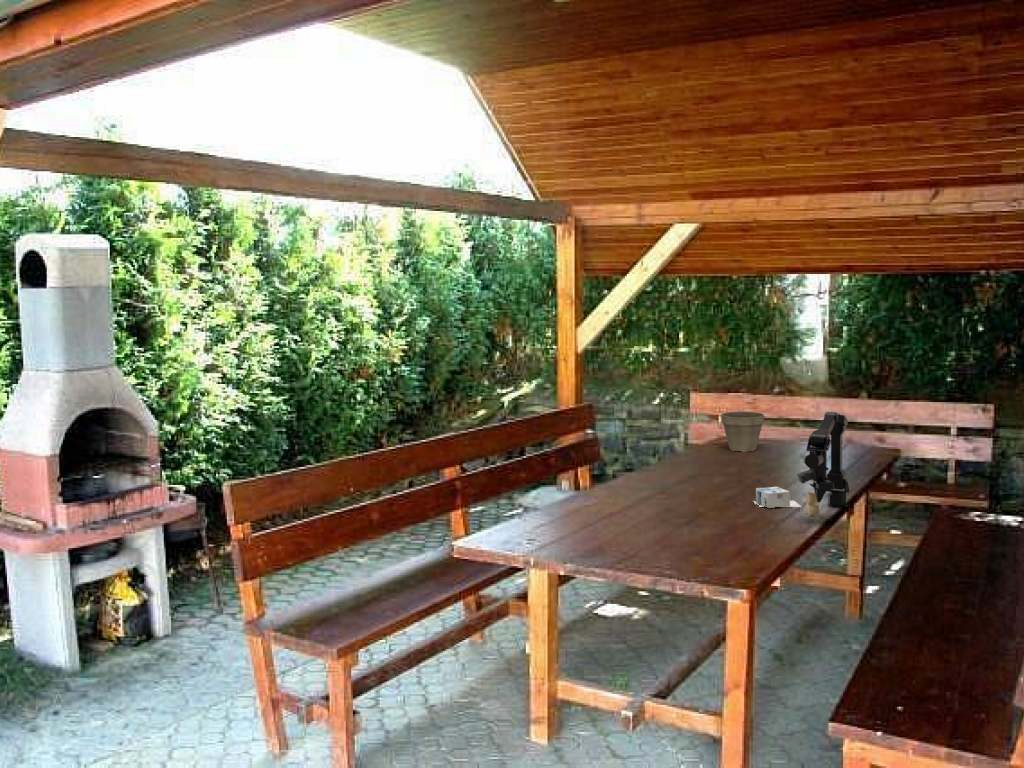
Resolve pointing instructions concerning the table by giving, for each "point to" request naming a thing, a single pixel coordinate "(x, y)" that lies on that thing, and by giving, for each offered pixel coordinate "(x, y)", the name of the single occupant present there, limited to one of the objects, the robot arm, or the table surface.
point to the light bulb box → (772, 497)
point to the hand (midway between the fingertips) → (818, 502)
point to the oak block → (812, 504)
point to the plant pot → (742, 429)
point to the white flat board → (792, 504)
